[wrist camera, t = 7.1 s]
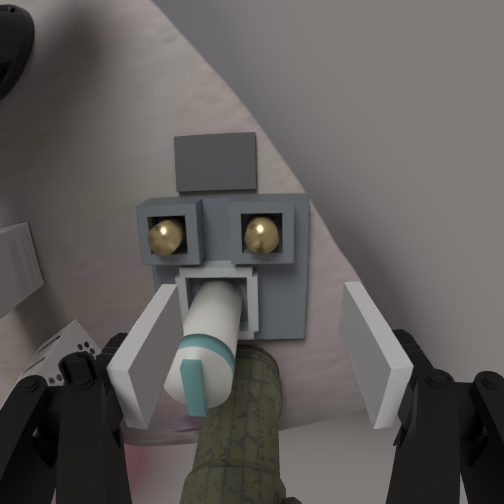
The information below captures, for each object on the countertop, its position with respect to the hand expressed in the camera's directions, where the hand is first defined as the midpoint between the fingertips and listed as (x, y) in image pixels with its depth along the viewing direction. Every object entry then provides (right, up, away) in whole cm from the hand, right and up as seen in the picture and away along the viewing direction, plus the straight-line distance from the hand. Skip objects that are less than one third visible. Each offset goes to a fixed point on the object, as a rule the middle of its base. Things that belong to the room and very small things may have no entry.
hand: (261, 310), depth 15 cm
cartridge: (-4, -2, +19) cm, 19 cm away
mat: (-4, +12, +17) cm, 21 cm away
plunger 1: (-8, +5, +16) cm, 19 cm away
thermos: (-1, -12, +24) cm, 27 cm away
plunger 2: (+1, +5, +16) cm, 17 cm away
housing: (-3, +1, +20) cm, 20 cm away
